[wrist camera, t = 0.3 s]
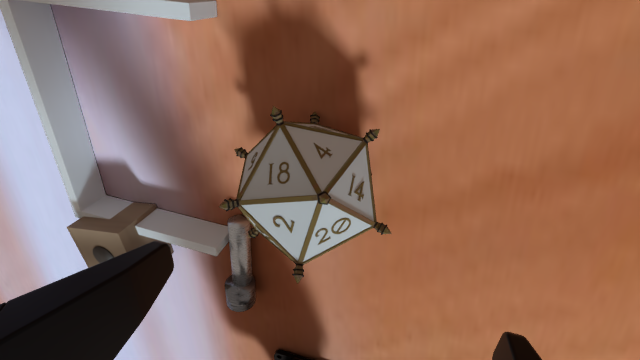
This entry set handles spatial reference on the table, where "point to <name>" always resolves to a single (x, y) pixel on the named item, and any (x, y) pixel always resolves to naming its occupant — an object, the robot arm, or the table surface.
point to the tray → (67, 120)
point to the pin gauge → (240, 266)
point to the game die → (307, 189)
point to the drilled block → (111, 234)
